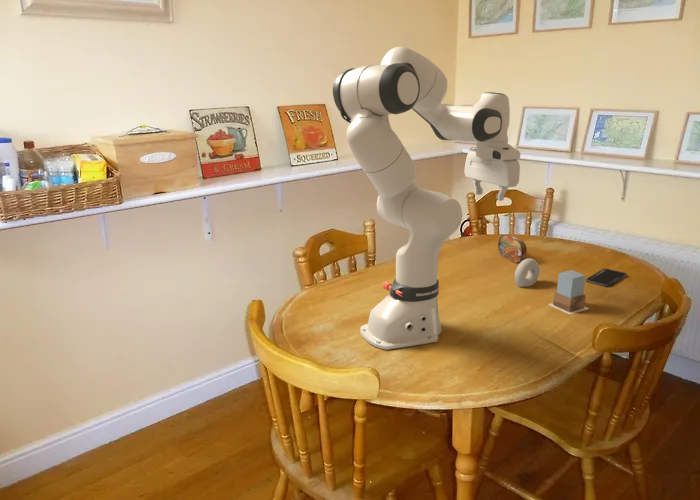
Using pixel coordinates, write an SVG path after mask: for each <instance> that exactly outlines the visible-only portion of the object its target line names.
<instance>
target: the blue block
mask: <svg viewBox="0 0 700 500" xmlns="http://www.w3.org/2000/svg"><path fill="white" fill-rule="evenodd" d="M585 281H586V275H585V274H583V273H581V272H577V271H574V270H573V269H571V270H567V271H562V272H559V273H558V277H557V288H556V292H557V293H559V294H562V295H564V296H566V297H569V298H574V297H578V296H581V295H583V294H584V289H585V285H586V284H585V283H586V282H585Z"/></svg>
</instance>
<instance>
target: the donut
mask: <svg viewBox="0 0 700 500" xmlns="http://www.w3.org/2000/svg"><path fill="white" fill-rule="evenodd" d="M540 268H541V267H540V265H539V263H538V262H537V260H535V259H534V258H525V260H523V261H522V262H519V264H518V265H517V267H516V269H515V272H514V281H515V284H516V286H518V287H520V288H527V287H530V286H531V287H532V286H533V285H534V284H536V282H537V281H538V278H539V277H540V270H541V269H540Z"/></svg>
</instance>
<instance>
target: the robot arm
mask: <svg viewBox="0 0 700 500" xmlns="http://www.w3.org/2000/svg"><path fill="white" fill-rule="evenodd" d="M447 91H448V79H447V77H446V75H445V73H444V72H443V70H441V68H439V67H438V65H436V64H435V63H433V62H432V61H431V60H430V59H428V58H427V57H426V56H424V55H422V54H421V53H419V52H417V51H416V50H413V49H411V48H408V47H405V46H402V45H401V46H396V47H392V48H391V49H390V50H388V51H387V52H386V54H385V55H384V56H383V58H382V60H381V61H380V64H377V65H376V64H370V65H364V66H359V67H357V68H355V67H354V68H353V67H351V68H349V69H346V70H344V71H342V72H341V73H339V74H338V75H337V76H336V78H335V79H334V80H333V85H332V96H333V97H332V98H333V100H334V104H335V106H336V108H337V110H338V111H339V114H340V116H341V118H342V119H343V120H344V121H345V122H347V123H349V124H348V126H347V129H346V134H345V136H346V141H347V143H348V146H349V148H350V150H351V152H352V154H353V157H354V158H355V160H356V162H357V163H358V165H359V166H360V167H361V169H362V170H363V172H364V174H365V175H366V176H367V178H368V179H369V181H370V182H371V184H372V186H373V187H374V188H375V190H376V192H377V195H378V196H377V200H376V210H377V214H378V215H379V217H380V218H381V219H384V221H386V222H388V223H389V224H391V225H393V226H397V227H398V228H402V229H405V230H408V231H409V237H408V240H407V243H405V244H404V245H402V246H401V247H400V248H399V249H397V251H396V254H395V278H394V279H393V282H392V283H390V282H388V281H384V282H383V283H382V285H381V286H382V288H383V289H385V290H386V291H389V294H387V295H386V296H385V297H384V298H383V299H382V300H381V301H380V302H378V304H376V306H375V307H373V308H372V309H371V310H370V312H369V316H368V322H367V323H365V324H363V325H361V326H360V328H359V333H360V335H361V336H362V337H361V338H363V339H364V340H365V341H366V342H367V343H369V344H370V345H372V346H374V347H375V348H378V349H382V350H386V351H387V350H393V349H400V348H406V347H413V346H419V345H425V344H431V343H432V344H433V343H436V342H438V341H439V335H440V334H441V333H442V330H443V327H442V324H441V319H440V315H439V314H440V313H439V308H438V306H439V304H438V296H439V292H440V289H439V288H440V286H439V285H440V284H439V283H440V282H439V279H438V272H439V271H438V269H439V257H440V252H441V249H442V247H443V245H444V243H445V241H446V240H447V239H448V238H449V237H451V236H452V235H453V234H455V233H456V232H457V231H458V229H459V228H460V226H461V223H462V221H463V209H462V205H461V204H460V202H459V201H458V200H456V199H455V198H453V197H451V196H449V195H447V194H446V193H445V194H444V193H443V192H439V191H434V190H429V189H424V188H422V187H419V186H418V185H417V184H416V183H415V182H414V180H415V178H416V176H417V175H416V174H417V166H416V164H415V162H414V160H413V159H412V157H411V155H410V154H409V152H408V150H407V148H406V147H405V146H404V144H403V143H402V141H401V139H400V137H399V136H398V135H397V134H396V132H395V131H394V130H393V128H392V127H391V124H390V119H389V118H390V117H389V115H400V114H404V113H406V112H408V111H410V110H413V112H414V113H416V114H417V115H418V116H419V117H420V118H421V119H423V121H425V122H426V123H427V124H428V125H429V126H430V128H431V129H432V131H433V133H434V134H435V137H437V138H438V139H439V140H441V141H459V142H471V143H475V146H476V147H474V146H471V147H470V148H469V150H468V151H467V155H466V159H465V164H464V171H463V172H464V176H465V178H468V179H471V180H472V184H473V187H474V194H475V195H479V196H480V195H482V194H483V193H484V192H483V190H484V189H483V187H482V185H481V182H484V183H489V184H492V185H497V186H498V189H499V191H498V193H496V195H495V200H497V201H504V200H505V194H506V193H507V191H508V189H509V188H515V187H517V186H518V184H519V182H520V176H521V173H520V172H521V168H520V167H521V166H520V165H521V164H520V162H519V159H520V158H521V152H520V150H517V149H516V148H515V147H513V146H512V145H511V144H509V136H508V129H509V126H510V117H511V116H510V114H511V113H510V111H511V110H510V99H509V97H508V95H507V94H505V93H502V92H495V91H494V92H493V91H492V92H490V91H488V92H483V93H481V94H480V99H479V100H478V101H477V102H476V103H475V104H473V105H454V104H447V103H446V104H445V103H443V104H442V102H443V101H444V99H445V97H446V94H447Z"/></svg>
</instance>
